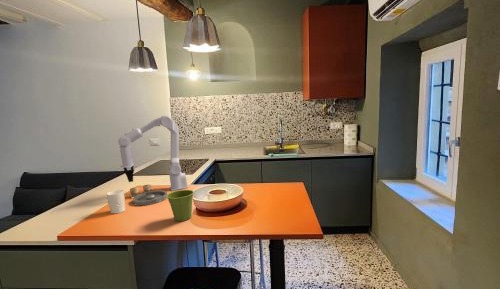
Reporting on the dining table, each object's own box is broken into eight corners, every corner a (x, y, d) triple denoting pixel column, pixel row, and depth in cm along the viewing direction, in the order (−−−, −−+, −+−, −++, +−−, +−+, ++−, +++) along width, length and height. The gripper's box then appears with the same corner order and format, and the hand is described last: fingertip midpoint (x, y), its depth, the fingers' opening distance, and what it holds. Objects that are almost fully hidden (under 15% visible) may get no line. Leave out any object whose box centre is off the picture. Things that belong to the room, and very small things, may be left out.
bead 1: (139, 194, 172) (138, 186, 171) (139, 197, 168) (138, 188, 167) (131, 196, 170) (129, 188, 170) (131, 198, 166) (129, 190, 165)
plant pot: (200, 218, 127) (197, 193, 126) (173, 226, 122) (170, 200, 120) (192, 210, 138) (189, 187, 136) (166, 217, 132) (163, 193, 130)
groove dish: (165, 192, 172) (165, 188, 172) (169, 200, 156) (168, 196, 155) (133, 198, 166) (133, 194, 165) (133, 208, 149) (132, 203, 149)
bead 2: (151, 192, 175) (150, 184, 174) (152, 194, 171) (151, 185, 170) (143, 193, 174) (142, 185, 173) (144, 195, 170) (142, 187, 169)
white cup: (106, 213, 145) (102, 194, 144) (119, 207, 152) (116, 189, 151) (116, 215, 142) (113, 195, 140) (130, 209, 148) (127, 190, 147)
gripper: (119, 156, 171) (123, 179, 173) (119, 160, 158) (123, 184, 160) (132, 154, 174) (135, 176, 176) (133, 157, 161) (137, 181, 163)
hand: (130, 180), depth 168 cm, fingers open, 7 cm apart
